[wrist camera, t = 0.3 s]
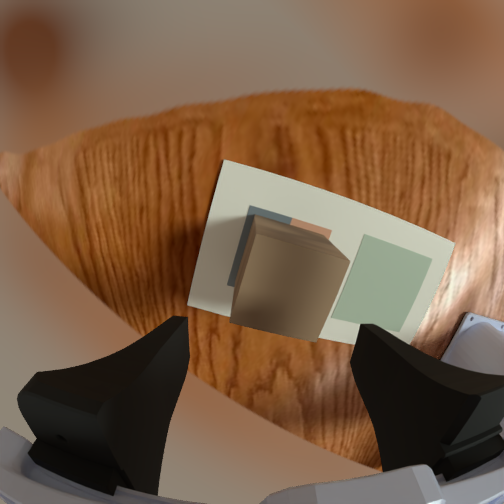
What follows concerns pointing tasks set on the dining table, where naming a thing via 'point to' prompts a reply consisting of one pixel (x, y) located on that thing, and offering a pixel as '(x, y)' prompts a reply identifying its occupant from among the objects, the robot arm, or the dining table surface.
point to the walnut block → (287, 280)
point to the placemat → (340, 235)
